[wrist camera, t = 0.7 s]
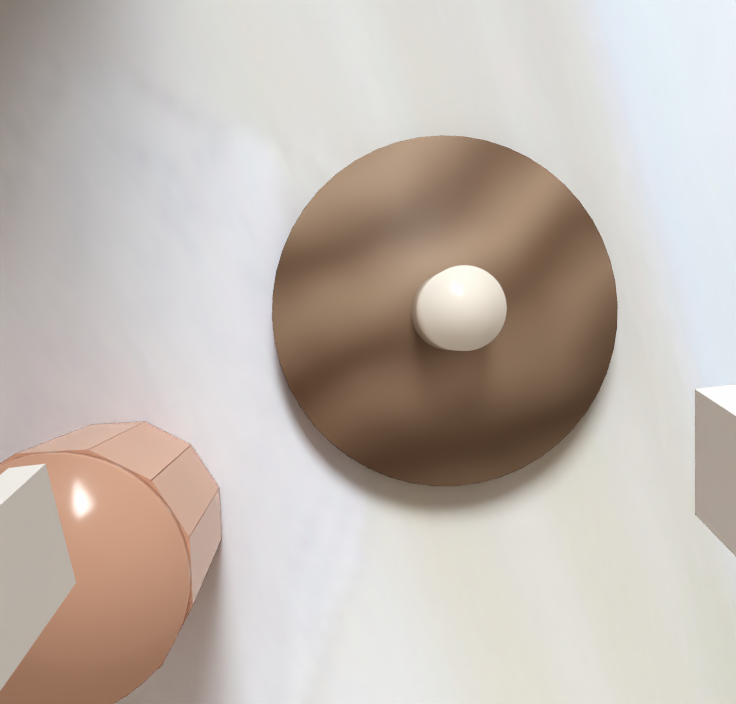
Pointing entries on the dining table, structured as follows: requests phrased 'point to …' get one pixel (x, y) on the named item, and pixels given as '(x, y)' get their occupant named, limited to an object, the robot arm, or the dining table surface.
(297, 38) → the dining table surface
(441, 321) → the ivory rounded cylinder
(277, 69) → the dining table surface
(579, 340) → the walnut board
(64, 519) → the tan domed cylinder
